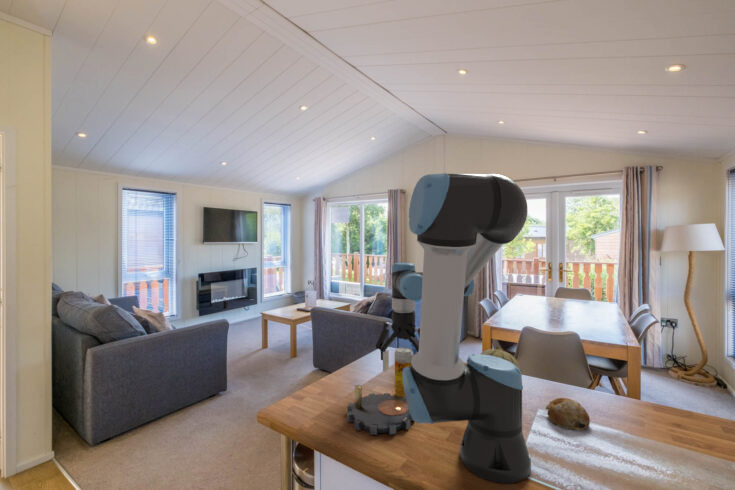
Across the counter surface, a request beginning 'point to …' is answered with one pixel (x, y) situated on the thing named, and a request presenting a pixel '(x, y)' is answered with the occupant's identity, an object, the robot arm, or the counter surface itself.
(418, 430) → the counter surface
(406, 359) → the beer can
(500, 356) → the cantaloupe
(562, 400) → the bread roll
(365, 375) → the counter surface
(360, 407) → the sprocket
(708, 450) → the counter surface
